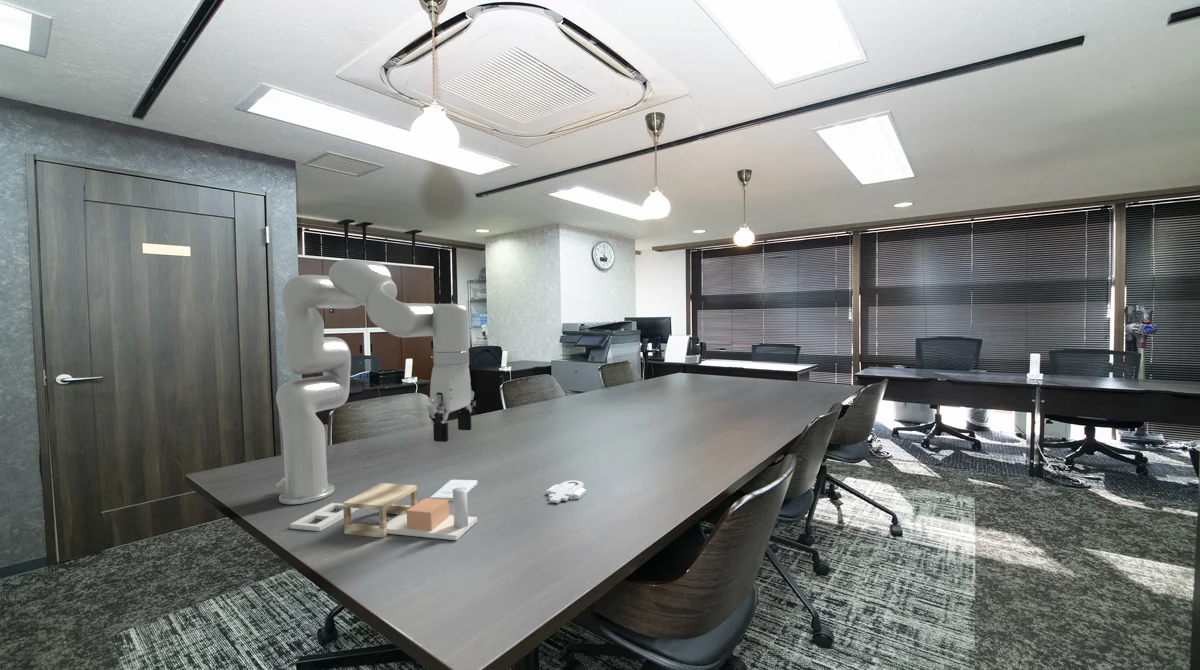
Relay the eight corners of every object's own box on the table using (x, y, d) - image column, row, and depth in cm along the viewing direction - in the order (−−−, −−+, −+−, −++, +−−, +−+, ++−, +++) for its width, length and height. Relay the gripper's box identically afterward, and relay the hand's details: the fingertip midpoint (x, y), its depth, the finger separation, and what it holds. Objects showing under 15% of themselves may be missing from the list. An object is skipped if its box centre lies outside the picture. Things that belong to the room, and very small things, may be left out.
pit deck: (290, 528, 105) (290, 523, 105) (332, 506, 117) (331, 502, 117) (319, 531, 103) (319, 526, 103) (359, 508, 115) (358, 505, 115)
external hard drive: (477, 485, 131) (459, 503, 118) (450, 485, 132) (429, 502, 119) (477, 480, 131) (459, 497, 118) (450, 479, 131) (428, 496, 119)
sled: (378, 532, 101) (376, 492, 101) (404, 515, 110) (403, 477, 110) (456, 540, 97) (455, 498, 97) (477, 521, 106) (475, 482, 106)
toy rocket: (571, 508, 114) (570, 498, 114) (536, 503, 117) (536, 494, 117) (597, 486, 128) (596, 477, 128) (566, 482, 132) (565, 474, 132)
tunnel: (344, 533, 102) (343, 502, 101) (381, 510, 113) (380, 482, 113) (384, 537, 99) (382, 505, 99) (417, 514, 111) (416, 485, 111)
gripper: (457, 355, 112) (458, 425, 113) (412, 363, 95) (414, 445, 96) (485, 355, 110) (486, 426, 111) (444, 363, 93) (447, 447, 94)
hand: (453, 435), depth 103 cm, fingers open, 9 cm apart
